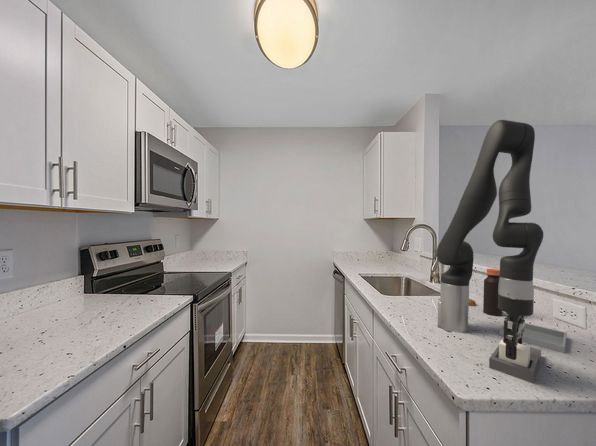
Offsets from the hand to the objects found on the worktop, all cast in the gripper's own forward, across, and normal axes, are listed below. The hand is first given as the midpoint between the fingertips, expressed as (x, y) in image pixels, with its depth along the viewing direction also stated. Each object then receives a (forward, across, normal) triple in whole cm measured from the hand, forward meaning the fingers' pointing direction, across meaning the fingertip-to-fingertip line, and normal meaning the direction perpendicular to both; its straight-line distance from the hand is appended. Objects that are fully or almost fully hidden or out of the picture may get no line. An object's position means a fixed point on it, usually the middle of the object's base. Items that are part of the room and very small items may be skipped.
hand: (513, 353), depth 71 cm
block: (+4, 0, 0) cm, 4 cm away
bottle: (+4, -48, -14) cm, 50 cm away
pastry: (+4, -56, -28) cm, 63 cm away
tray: (+4, -30, +1) cm, 30 cm away
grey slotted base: (+4, -4, 0) cm, 6 cm away
